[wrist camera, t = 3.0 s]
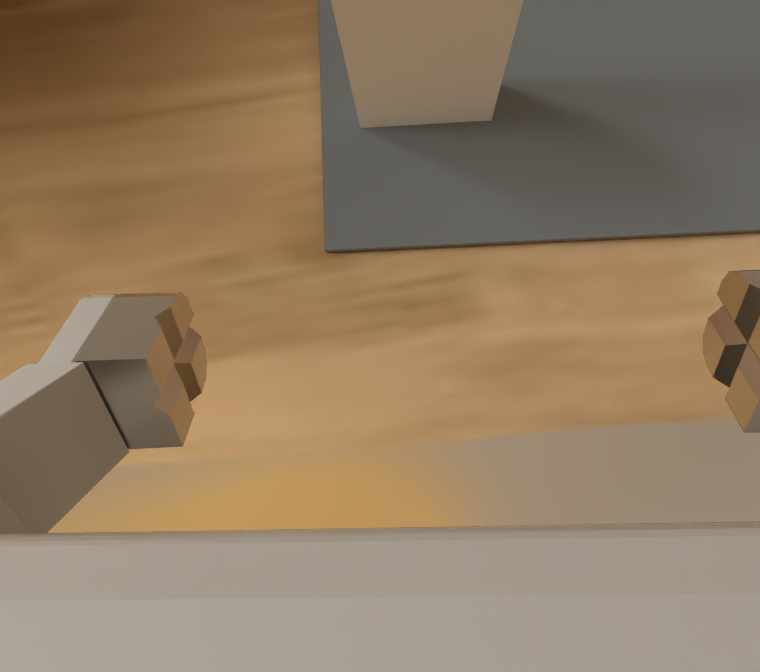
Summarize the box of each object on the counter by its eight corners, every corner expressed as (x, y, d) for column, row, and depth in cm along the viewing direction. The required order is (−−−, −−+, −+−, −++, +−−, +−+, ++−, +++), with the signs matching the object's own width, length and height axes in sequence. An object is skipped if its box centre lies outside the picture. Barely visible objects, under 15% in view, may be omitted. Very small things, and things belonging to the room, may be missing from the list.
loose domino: (360, 128, 24) (316, -59, 14) (359, 88, 24) (315, -126, 14) (491, 120, 23) (544, -77, 13) (489, 80, 23) (540, -145, 14)
